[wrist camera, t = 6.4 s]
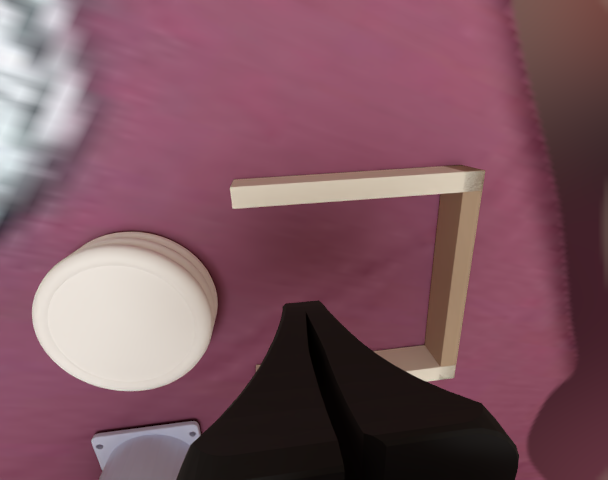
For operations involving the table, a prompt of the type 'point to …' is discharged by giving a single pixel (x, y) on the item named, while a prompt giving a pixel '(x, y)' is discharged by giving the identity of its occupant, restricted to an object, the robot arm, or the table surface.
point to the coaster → (126, 311)
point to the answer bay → (448, 246)
